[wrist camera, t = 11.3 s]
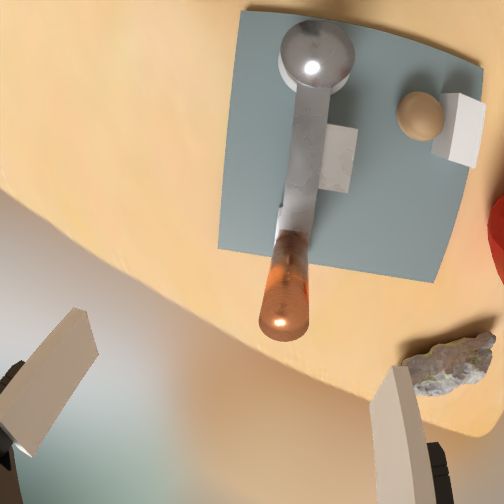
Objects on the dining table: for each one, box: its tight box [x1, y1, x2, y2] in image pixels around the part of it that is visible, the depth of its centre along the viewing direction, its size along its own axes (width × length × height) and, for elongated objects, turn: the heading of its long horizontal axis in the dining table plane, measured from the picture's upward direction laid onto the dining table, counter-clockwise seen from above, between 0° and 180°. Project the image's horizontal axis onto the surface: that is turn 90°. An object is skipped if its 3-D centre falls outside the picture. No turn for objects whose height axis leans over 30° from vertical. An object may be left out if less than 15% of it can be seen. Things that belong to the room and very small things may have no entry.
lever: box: [259, 20, 358, 342], centre depth 21 cm, size 21×6×12 cm, turn 175°
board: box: [218, 11, 486, 283], centre depth 25 cm, size 24×24×5 cm
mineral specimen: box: [401, 331, 496, 396], centre depth 33 cm, size 16×7×7 cm, turn 107°
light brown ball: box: [396, 92, 445, 141], centre depth 22 cm, size 4×4×4 cm
